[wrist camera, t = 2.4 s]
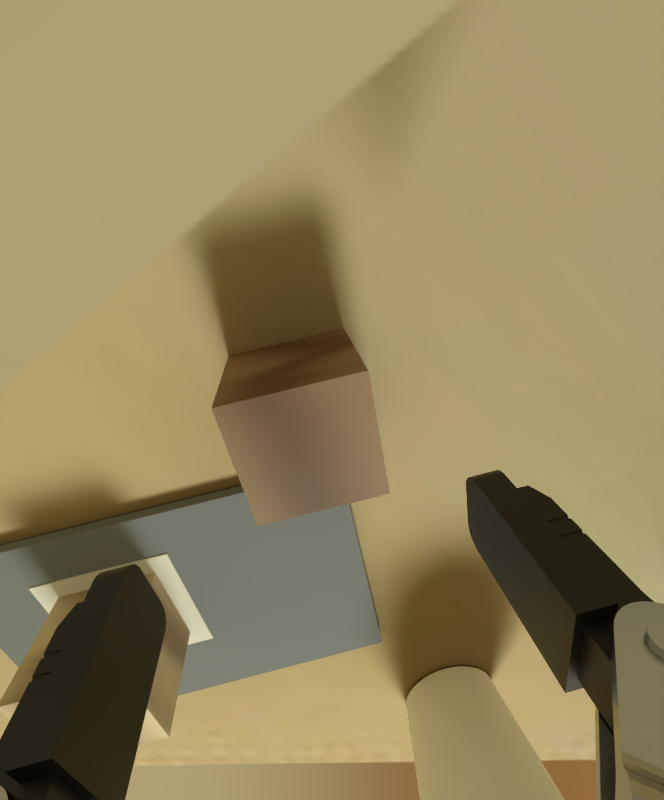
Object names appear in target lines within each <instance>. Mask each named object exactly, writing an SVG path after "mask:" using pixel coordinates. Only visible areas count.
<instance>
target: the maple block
mask: <svg viewBox="0 0 664 800" xmlns="http://www.w3.org/2000/svg"><path fill="white" fill-rule="evenodd" d="M145 577H146V578H147V580H148V581H149V583H150V585H151V586H152V588H153V589H154V591H155V593H156V594H157V596H158V598H159V599H160V601H161V602H162V604H163V607H164V610H165V615H166V630H165V635H164V639H163V643H162V648H161V652H160V656H159V660H158V664H157V668H156V672H155V677H154V681H153V685H152V689H151V693H150V697H149V702H148V706H147V710H146V714H145V718H144V722H143V726H142V731H141V735H140V739H139V743H138V745H140V744H144V743H148V742H152V741H155V740H159V739H163V738H167V737H169V735H170V730H171V725H172V720H173V716H174V711H175V706H176V701H177V696H178V691H179V686H180V681H181V676H182V671H183V666H184V661H185V656H186V651H187V646H188V641H189V636H190V631H189V629H188V628H187V626H186V624H185V622H184V621H183V619H182V617H181V616H180V614H179V612H178V611H177V609H176V607H175V605H174V604H173V602H172V600H171V599H170V597H169V595H168V594H167V592H166V590H165V588H164V587H163V585H162V583H161V582H160V580H159V578H158V577H157V575H156V573H152V574H148V575H145ZM88 591H89V590H85V591H81V592H77V593H73V594H69V595H65V596H61V597H58V599H57V601H56V603H55V604H54V606H53V608H52V610H51V611H50V613H49V615H48V617H47V619H46V620H45V622H44V624H43V626H42V628H41V629H40V631H39V633H38V635H37V636H36V638H35V640H34V642H33V644H32V645H31V647H30V649H29V651H28V652H27V654H26V656H25V658H24V660H23V661H22V663H21V665H20V667H19V669H18V670H17V672H16V674H15V676H14V677H13V679H12V681H11V683H10V685H9V686H8V688H7V690H6V692H5V693H4V695H3V697H2V699H1V701H0V711H1V712H2V713H3V714H4V715H5V716H6V717H7V718H9V719H11V717H12V715H13V713H14V711H15V709H16V707H17V705H18V704H19V702H20V700H21V698H22V696H23V694H24V692H25V690H26V688H27V686H28V684H29V682H32V680H33V677H32V676H33V674H34V672H35V670H36V668H37V666H38V664H39V662H40V660H41V659H43V658H44V652H45V650H46V648H47V646H48V644H49V642H50V640H51V638H52V636H53V634H54V632H55V630H56V628H57V627H58V625H59V624H60V623H61V622H62V621H63V619H64V618H65V617H66V616H67V615H68V613H69V612H70V611H71V610H72V609H73V607H74V606H75V605H76V604H77V603H80V602H83V601H84V599H85V597H86V595H87V593H88Z"/></svg>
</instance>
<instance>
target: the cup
mask: <svg viewBox="0 0 664 800" xmlns="http://www.w3.org/2000/svg"><path fill="white" fill-rule="evenodd" d="M406 706H407V713H408V720H409V727H410V733H411V740H412V747H413V754H414V761H415V768H416V775H417V782H418V789H419V796H420V800H564V798H563V797H562V795H561V793H560V792H559V790H558V788H557V787H556V785H555V783H554V782H553V780H552V779H551V777H550V775H549V774H548V772H547V770H546V769H545V767H544V766H543V764H542V762H541V761H540V759H539V757H538V756H537V754H536V752H535V751H534V749H533V747H532V746H531V744H530V743H529V741H528V739H527V738H526V736H525V734H524V733H523V731H522V730H521V728H520V726H519V725H518V723H517V721H516V720H515V718H514V716H513V715H512V713H511V712H510V710H509V708H508V707H507V705H506V703H505V702H504V700H503V699H502V697H501V695H500V694H499V692H498V690H497V689H496V687H495V685H494V684H493V682H492V681H491V679H490V677H489V676H488V675H487V674H486V673H485V672H484V671H482V670H480V669H477V668H473V667H467V666H457V667H450V668H446V669H442V670H439V671H436V672H434V673H432V674H430V675H428V676H426V677H425V678H423V679H422V680H421V681H419V682H418V683H417V684H416V685H415V686H414V687H413V688H412V690H411V691H410V693H409V694H408V697H407V700H406Z"/></svg>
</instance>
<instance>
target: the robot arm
mask: <svg viewBox="0 0 664 800" xmlns="http://www.w3.org/2000/svg"><path fill="white" fill-rule="evenodd" d="M466 491H467V509H468V525H469V530H470V534H471V537H472V539H473V542H474V544H475V546H476V548H477V550H478V552H479V553H480V555H481V557H482V558H483V560H484V561H485V563H486V565H487V566H488V568H489V570H490V571H491V573H492V574H493V576H494V578H495V579H496V581H497V583H498V584H499V586H500V587H501V589H502V591H503V592H504V594H505V596H506V597H507V599H508V600H509V602H510V604H511V605H512V607H513V609H514V610H515V612H516V613H517V615H518V617H519V618H520V620H521V622H522V623H523V625H524V626H525V628H526V630H527V631H528V633H529V635H530V636H531V638H532V640H533V641H534V643H535V644H536V646H537V648H538V649H539V651H540V653H541V654H542V656H543V657H544V659H545V661H546V662H547V664H548V666H549V667H550V669H551V670H552V672H553V674H554V675H555V677H556V679H557V680H558V682H559V683H560V685H561V687H562V688H563V690H564V692H565V693H567V692H570V691H573V690H577V689H580V688H584V689H585V690H586V692H587V693H588V695H589V696H590V698H591V699H592V701H593V703H594V704H595V706H596V710H595V727H596V779H597V780H596V782H597V800H664V604H661V603H656V602H654V601H653V600H651V599H650V598H649V597H648V596H647V595H645V594H644V593H643V592H642V591H641V590H640V589H639V588H638V587H637V586H636V585H635V584H634V583H633V582H632V581H631V580H630V578H629V577H628V576H627V575H626V574H625V573H624V572H623V571H622V570H621V569H620V568H619V567H618V566H617V565H616V564H615V563H614V562H613V561H612V560H611V559H610V558H609V557H608V556H607V555H606V554H605V553H604V552H603V551H602V550H601V549H600V548H599V547H598V546H597V545H596V544H595V543H594V542H593V541H592V540H591V539H590V538H589V537H588V536H587V535H586V534H583V532H582V529H581V528H580V527H579V526H578V525H577V524H576V523H575V522H574V521H573V520H572V519H569V518H568V515H567V514H566V513H565V512H564V511H563V510H562V509H561V508H560V507H559V506H558V505H557V504H556V503H555V502H554V501H553V500H552V499H551V498H550V497H548V496H546V495H544V494H543V493H541V492H539V491H537V490H535V489H533V488H532V487H530V486H525V487H521V488H516V487H515V486H514V485H513V483H512V482H511V481H510V480H509V479H508V478H507V477H506V476H505V474H504V473H503V472H501V471H499V470H496V471H492V472H488V473H484V474H480V475H477V476H473V477H469V478H467V481H466ZM165 630H166V615H165V610H164V607H163V604H162V602H161V601H160V599H159V598H158V596H157V594H156V593H155V591H154V589H153V588H152V586H151V585H150V583H149V581H148V580H147V578H146V577H145V575H144V573H143V572H142V570H141V569H140V567H139V566H138V565H136V564H131V565H127V566H123V567H120V568H116V569H112V570H108V571H104V572H101V573H99V574H98V575H97V576H96V577H95V578H94V580H93V582H92V584H91V587H90V589H89V591H88V593H87V595H86V597H85V599H84V601H83V602H80V603H77V604H76V605H75V606H74V607H73V609H72V610H71V611H70V612H69V613H68V615H67V616H66V617H65V618H64V619H63V621H62V622H61V623H60V624H59V625H58V627H57V628H56V630H55V632H54V634H53V636H52V638H51V640H50V642H49V644H48V646H47V648H46V650H45V652H44V658H43V659H41V660H40V662H39V664H38V666H37V668H36V670H35V672H34V674H33V676H32V677H33V680H32V682H29V684H28V686H27V688H26V690H25V692H24V694H23V696H22V698H21V700H20V702H19V704H18V705H17V707H16V709H15V711H14V713H13V715H12V717H11V719H10V721H9V723H8V725H7V727H6V729H5V731H4V733H3V735H2V737H1V739H0V800H125V796H126V793H127V789H128V784H129V780H130V776H131V772H132V768H133V764H134V760H135V756H136V751H137V747H138V743H139V739H140V735H141V731H142V726H143V722H144V718H145V714H146V710H147V706H148V702H149V697H150V693H151V689H152V685H153V681H154V677H155V672H156V668H157V664H158V660H159V656H160V652H161V648H162V643H163V639H164V635H165Z"/></svg>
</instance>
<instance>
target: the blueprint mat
mask: <svg viewBox="0 0 664 800" xmlns="http://www.w3.org/2000/svg"><path fill="white" fill-rule="evenodd" d="M131 564H136V565H138V566H139V567H140V569H141V570H142V572H143V573H144V575H148V574H152V573H156V575H157V577H158V578H159V580H160V582H161V583H162V585H163V587H164V588H165V590H166V592H167V594H168V595H169V597H170V599H171V600H172V602H173V604H174V605H175V607H176V609H177V611H178V612H179V614H180V616H181V617H182V619H183V621H184V622H185V624H186V626H187V628H188V629H189V631H190V636H189V641H188V646H187V651H186V656H185V661H184V666H183V671H182V676H181V681H180V686H179V691H178V695H182V694H186V693H190V692H193V691H197V690H201V689H205V688H209V687H212V686H216V685H220V684H224V683H228V682H232V681H235V680H239V679H243V678H247V677H251V676H254V675H258V674H262V673H266V672H270V671H274V670H277V669H281V668H285V667H289V666H293V665H296V664H300V663H304V662H308V661H312V660H315V659H319V658H323V657H327V656H331V655H335V654H338V653H342V652H346V651H350V650H354V649H357V648H361V647H365V646H369V645H373V644H376V643H380V642H382V639H381V635H380V631H379V627H378V623H377V618H376V614H375V610H374V606H373V602H372V597H371V593H370V589H369V585H368V580H367V576H366V572H365V568H364V564H363V559H362V555H361V551H360V547H359V543H358V538H357V534H356V530H355V526H354V522H353V517H352V513H351V509H350V505H349V504H345V505H341V506H337V507H333V508H329V509H325V510H321V511H317V512H313V513H309V514H305V515H301V516H297V517H293V518H289V519H285V520H281V521H277V522H273V523H269V524H265V525H261V526H257V524H256V521H255V519H254V516H253V514H252V511H251V509H250V506H249V503H248V501H247V498H246V496H245V493H244V491H243V488H242V485H241V486H237V487H233V488H229V489H225V490H221V491H217V492H213V493H209V494H205V495H201V496H197V497H192V498H188V499H184V500H180V501H176V502H172V503H168V504H164V505H160V506H156V507H152V508H148V509H144V510H140V511H136V512H132V513H128V514H124V515H120V516H116V517H112V518H108V519H104V520H100V521H96V522H92V523H88V524H84V525H80V526H76V527H71V528H67V529H63V530H59V531H55V532H51V533H47V534H43V535H39V536H35V537H31V538H27V539H23V540H19V541H15V542H11V543H7V544H3V545H0V648H1V649H2V650H3V651H4V652H5V653H6V654H7V655H8V656H9V657H10V658H11V659H12V661H13V662H14V663H15V664H16V665H17V666H18V667H20V665H21V663H22V661H23V660H24V658H25V656H26V654H27V652H28V651H29V649H30V647H31V645H32V644H33V642H34V640H35V638H36V636H37V635H38V633H39V631H40V629H41V628H42V626H43V624H44V622H45V620H46V619H47V617H48V615H49V613H50V611H51V610H52V608H53V606H54V604H55V603H56V601H57V599H58V597H61V596H65V595H69V594H73V593H77V592H81V591H85V590H89V589H90V587H91V584H92V582H93V580H94V578H95V577H96V576H97V575H98V574H99V573H101V572H104V571H108V570H112V569H116V568H120V567H123V566H127V565H131Z"/></svg>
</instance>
